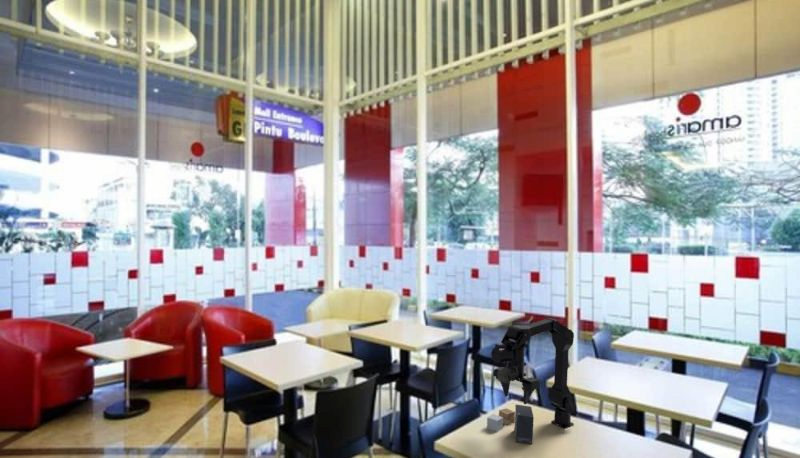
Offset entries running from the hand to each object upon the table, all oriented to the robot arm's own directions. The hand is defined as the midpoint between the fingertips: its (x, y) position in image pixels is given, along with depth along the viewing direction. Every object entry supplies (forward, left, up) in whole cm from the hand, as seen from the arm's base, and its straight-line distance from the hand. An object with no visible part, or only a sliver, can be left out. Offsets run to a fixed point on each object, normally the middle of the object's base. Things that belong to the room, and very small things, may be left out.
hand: (515, 400), depth 170 cm
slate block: (+2, -9, -14) cm, 16 cm away
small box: (-2, +2, -14) cm, 14 cm away
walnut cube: (-7, -11, -14) cm, 19 cm away
